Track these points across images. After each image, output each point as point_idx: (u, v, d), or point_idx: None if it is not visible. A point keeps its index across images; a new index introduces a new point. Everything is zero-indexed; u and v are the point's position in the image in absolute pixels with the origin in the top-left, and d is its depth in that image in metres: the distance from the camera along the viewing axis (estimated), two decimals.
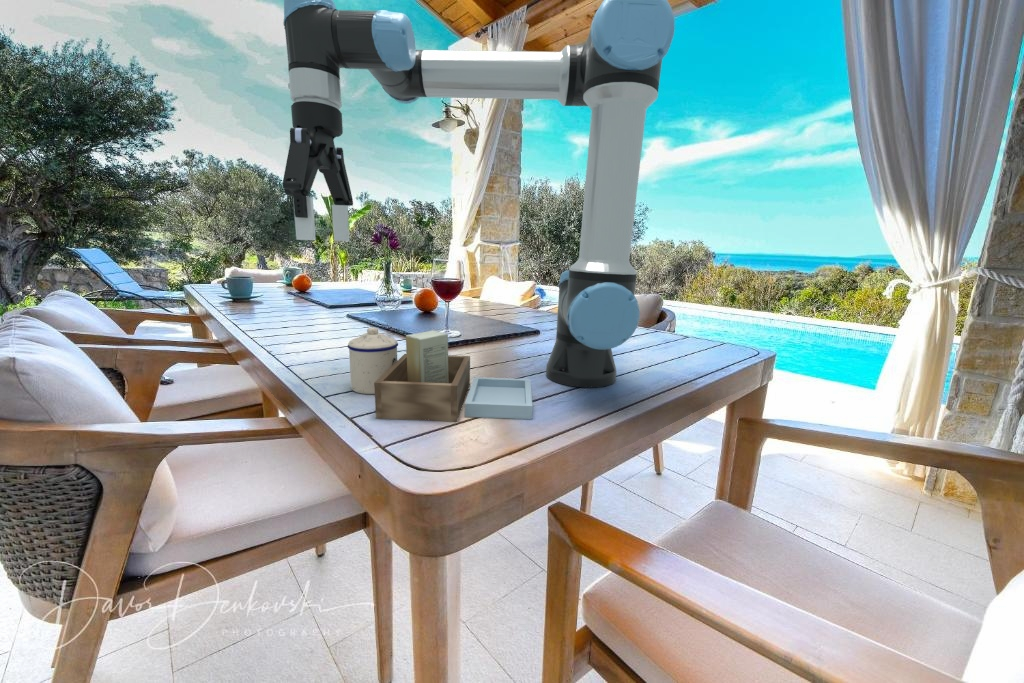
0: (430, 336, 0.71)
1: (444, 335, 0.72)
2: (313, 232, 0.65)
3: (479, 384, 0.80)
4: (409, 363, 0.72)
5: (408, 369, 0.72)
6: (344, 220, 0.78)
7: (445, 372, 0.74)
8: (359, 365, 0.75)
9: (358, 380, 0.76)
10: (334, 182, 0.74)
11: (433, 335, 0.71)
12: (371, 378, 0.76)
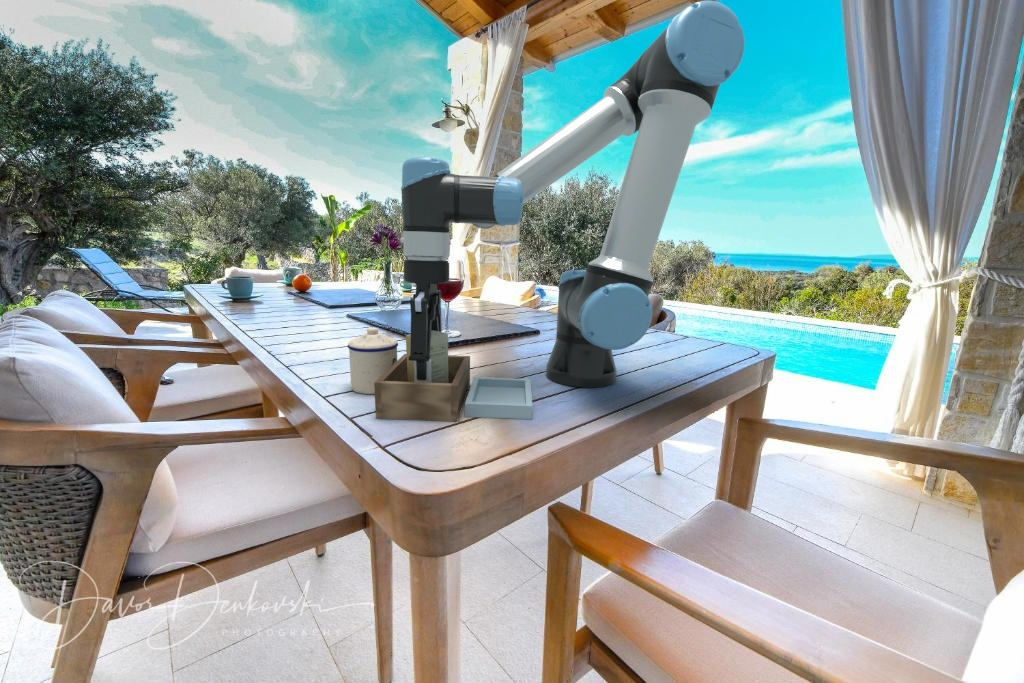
0: None
1: (444, 335, 0.72)
2: None
3: (479, 384, 0.80)
4: (409, 363, 0.72)
5: (408, 369, 0.72)
6: None
7: (445, 372, 0.74)
8: (359, 365, 0.75)
9: (358, 380, 0.76)
10: (431, 324, 0.75)
11: (433, 335, 0.71)
12: (371, 378, 0.76)
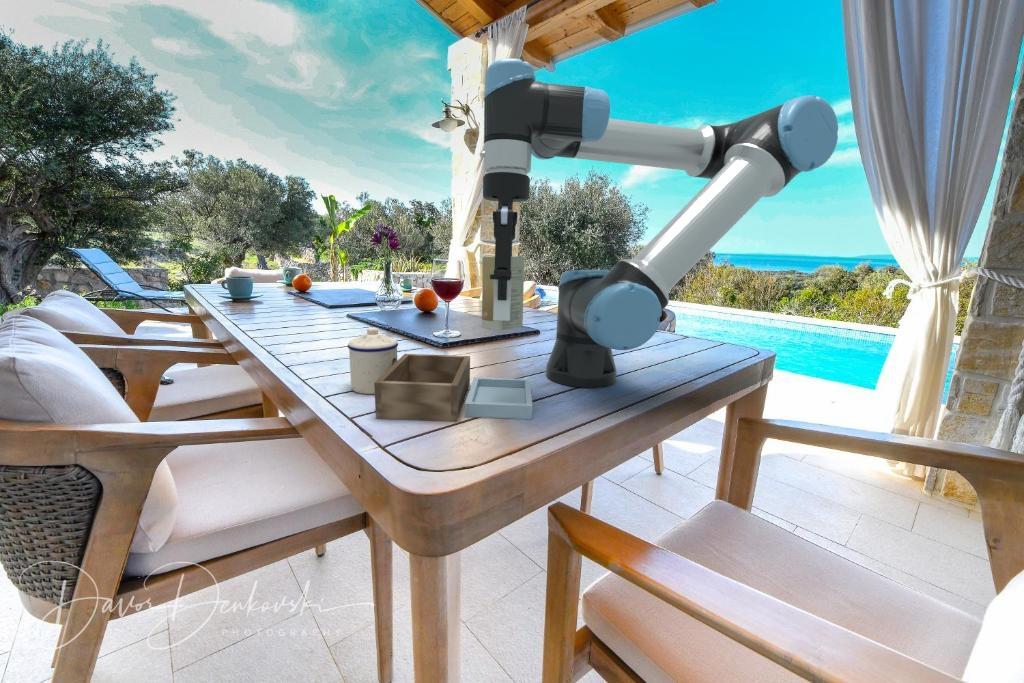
0: None
1: (521, 258, 0.69)
2: None
3: (479, 384, 0.80)
4: (485, 286, 0.69)
5: (484, 293, 0.69)
6: None
7: (520, 298, 0.71)
8: (359, 365, 0.75)
9: (358, 380, 0.76)
10: None
11: (511, 256, 0.68)
12: (371, 378, 0.76)
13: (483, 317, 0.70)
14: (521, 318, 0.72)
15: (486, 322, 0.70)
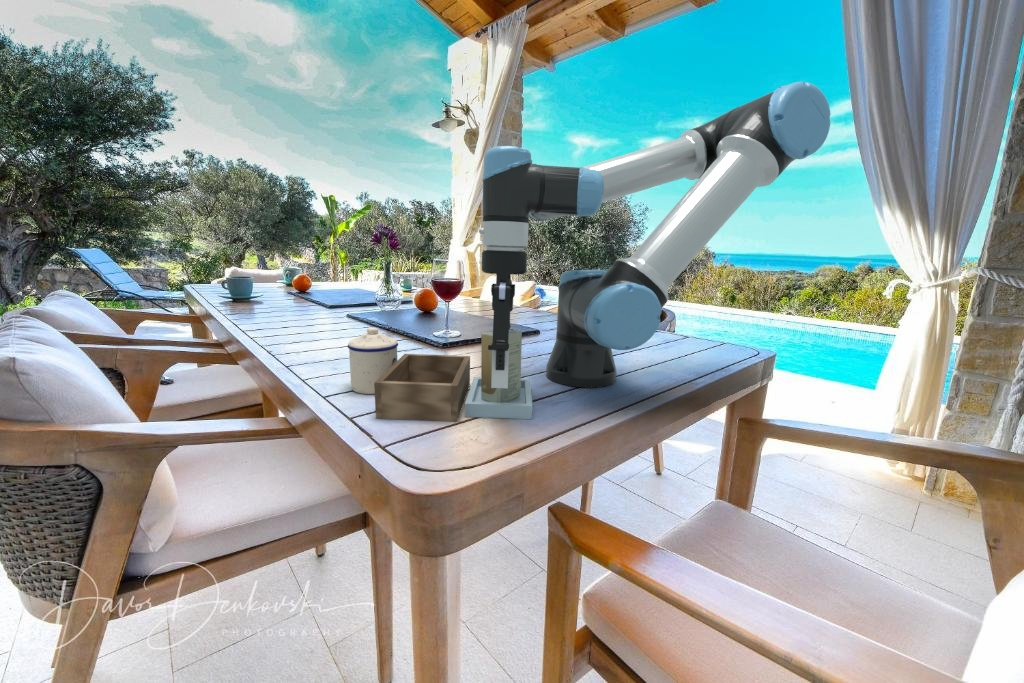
0: None
1: (519, 333, 0.72)
2: (507, 381, 0.68)
3: (479, 384, 0.80)
4: (484, 361, 0.71)
5: (483, 367, 0.72)
6: None
7: (518, 370, 0.74)
8: (359, 365, 0.75)
9: (358, 380, 0.76)
10: None
11: (509, 333, 0.71)
12: (371, 378, 0.76)
13: (482, 389, 0.73)
14: (519, 388, 0.75)
15: (485, 394, 0.73)
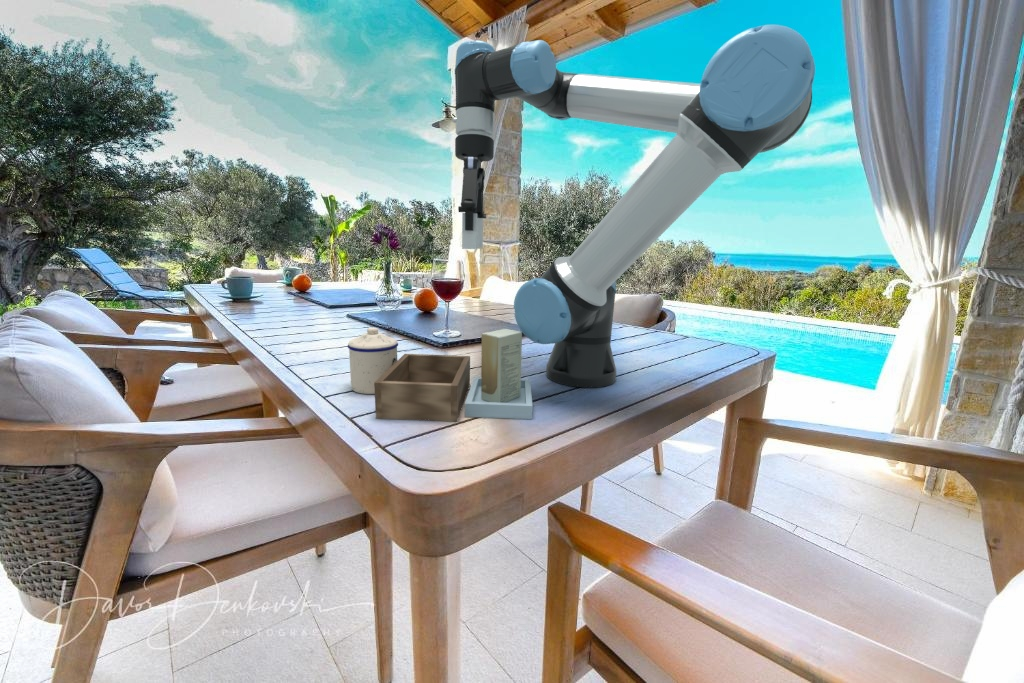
0: (507, 334, 0.70)
1: (519, 333, 0.72)
2: (476, 242, 0.78)
3: (479, 384, 0.80)
4: (484, 361, 0.71)
5: (483, 367, 0.72)
6: (480, 231, 0.91)
7: (518, 370, 0.74)
8: (359, 365, 0.75)
9: (358, 380, 0.76)
10: (477, 198, 0.87)
11: (509, 333, 0.71)
12: (371, 378, 0.76)
13: (482, 389, 0.73)
14: (519, 388, 0.75)
15: (485, 394, 0.73)
